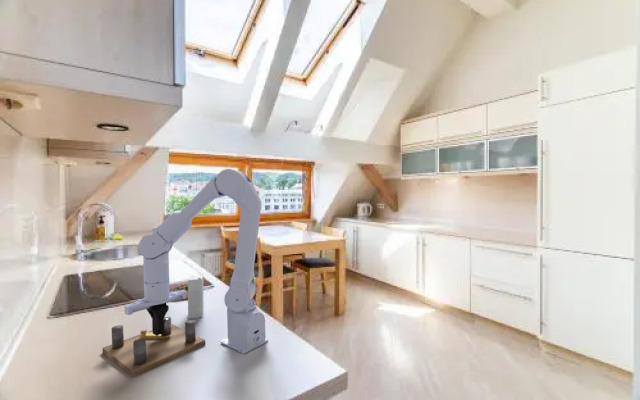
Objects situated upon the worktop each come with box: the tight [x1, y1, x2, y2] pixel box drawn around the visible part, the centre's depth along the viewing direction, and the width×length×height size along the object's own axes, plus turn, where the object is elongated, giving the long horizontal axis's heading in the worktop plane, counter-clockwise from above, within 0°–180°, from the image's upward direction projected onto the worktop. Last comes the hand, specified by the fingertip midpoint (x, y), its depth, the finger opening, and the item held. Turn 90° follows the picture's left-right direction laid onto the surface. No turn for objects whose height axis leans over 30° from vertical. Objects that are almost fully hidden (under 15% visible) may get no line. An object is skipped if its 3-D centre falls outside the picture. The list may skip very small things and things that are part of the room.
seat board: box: [101, 319, 206, 378], centre depth 78 cm, size 17×17×6 cm
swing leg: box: [139, 316, 172, 339], centre depth 82 cm, size 8×2×5 cm, turn 88°
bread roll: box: [170, 283, 188, 301], centre depth 117 cm, size 11×11×5 cm
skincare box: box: [187, 273, 205, 320], centre depth 99 cm, size 6×4×12 cm
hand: (158, 333), depth 80 cm, fingers closed, pressing on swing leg
